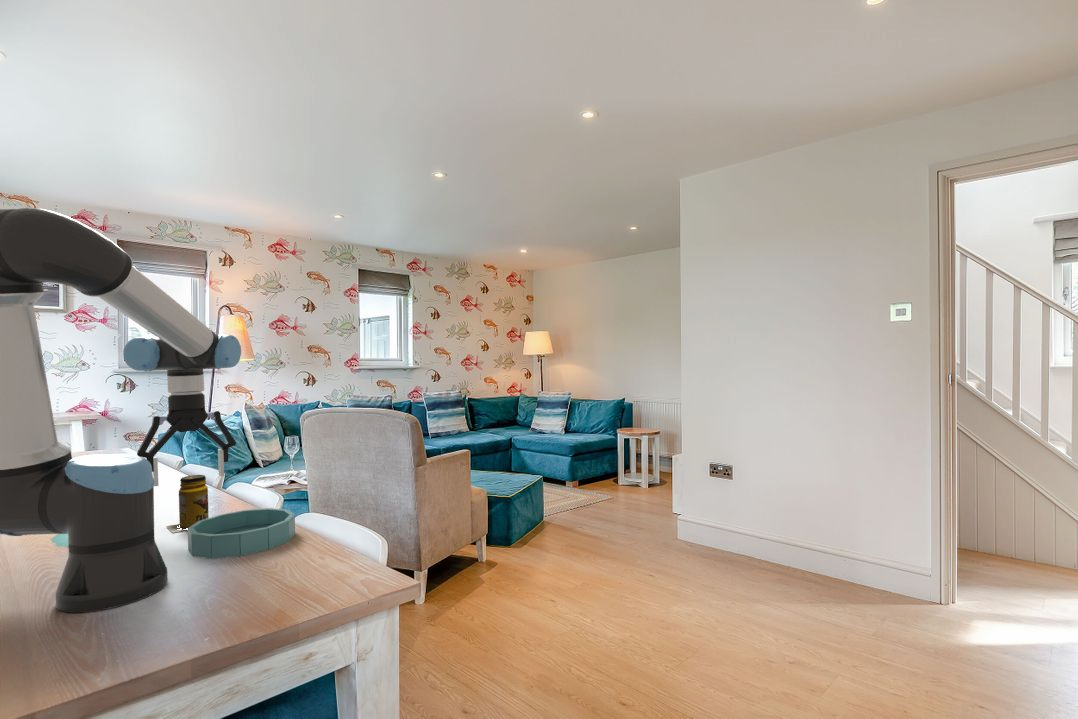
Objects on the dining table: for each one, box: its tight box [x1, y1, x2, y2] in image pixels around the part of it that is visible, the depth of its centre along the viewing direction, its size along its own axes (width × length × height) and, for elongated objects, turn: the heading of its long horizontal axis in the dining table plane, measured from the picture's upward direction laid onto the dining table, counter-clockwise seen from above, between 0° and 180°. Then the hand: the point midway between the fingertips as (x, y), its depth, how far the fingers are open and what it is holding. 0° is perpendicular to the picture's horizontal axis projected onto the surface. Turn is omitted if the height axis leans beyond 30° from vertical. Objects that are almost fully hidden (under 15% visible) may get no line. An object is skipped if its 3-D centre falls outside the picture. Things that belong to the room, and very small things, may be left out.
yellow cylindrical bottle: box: [166, 474, 210, 534], centre depth 133 cm, size 7×8×12 cm
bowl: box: [187, 507, 296, 559], centre depth 120 cm, size 20×20×4 cm
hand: (189, 480), depth 134 cm, fingers open, 13 cm apart
